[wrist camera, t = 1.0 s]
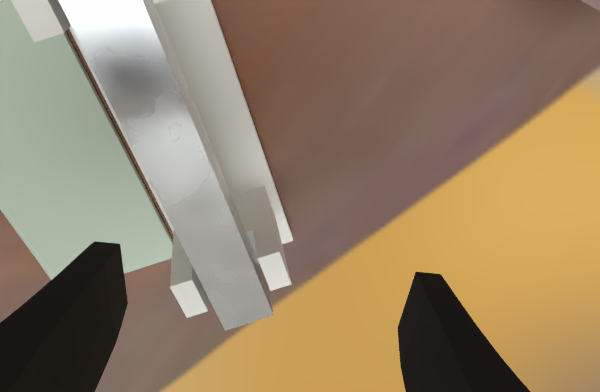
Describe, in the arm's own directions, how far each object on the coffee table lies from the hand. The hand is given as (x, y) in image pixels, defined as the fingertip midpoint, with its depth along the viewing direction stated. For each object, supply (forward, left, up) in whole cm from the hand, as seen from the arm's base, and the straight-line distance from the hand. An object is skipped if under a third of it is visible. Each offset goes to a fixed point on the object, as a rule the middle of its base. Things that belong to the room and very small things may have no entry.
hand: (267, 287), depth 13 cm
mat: (-10, 0, -15) cm, 17 cm away
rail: (-3, 0, -10) cm, 10 cm away
